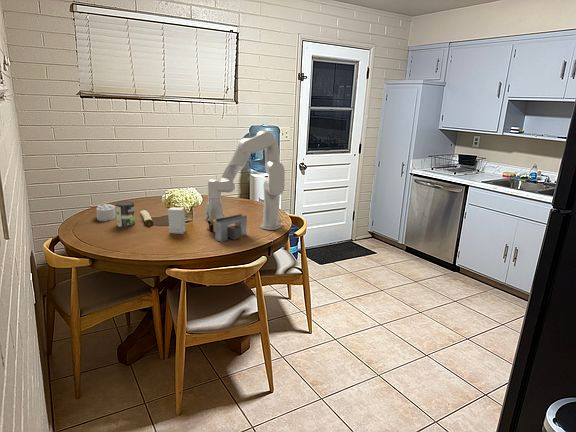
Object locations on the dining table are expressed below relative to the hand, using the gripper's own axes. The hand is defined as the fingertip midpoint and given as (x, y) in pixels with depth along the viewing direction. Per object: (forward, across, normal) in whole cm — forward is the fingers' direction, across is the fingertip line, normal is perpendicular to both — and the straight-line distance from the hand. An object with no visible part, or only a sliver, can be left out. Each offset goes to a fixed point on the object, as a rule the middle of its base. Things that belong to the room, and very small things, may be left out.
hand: (214, 229), depth 237 cm
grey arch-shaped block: (+1, 0, +15) cm, 15 cm away
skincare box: (+1, +18, -12) cm, 22 cm away
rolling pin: (+1, +20, -43) cm, 48 cm away
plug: (0, 0, +8) cm, 8 cm away
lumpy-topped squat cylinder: (+1, +36, -65) cm, 74 cm away
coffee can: (+1, +34, -43) cm, 54 cm away
